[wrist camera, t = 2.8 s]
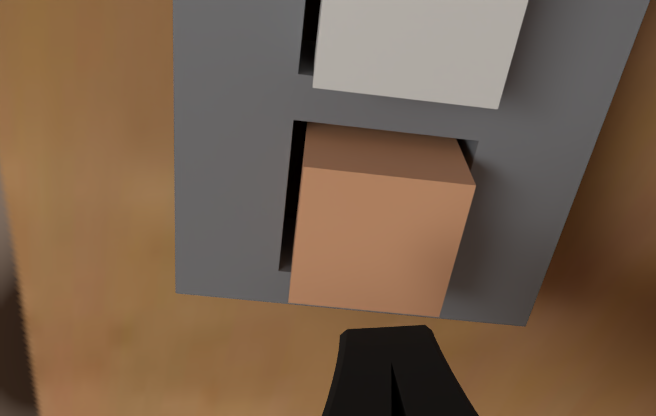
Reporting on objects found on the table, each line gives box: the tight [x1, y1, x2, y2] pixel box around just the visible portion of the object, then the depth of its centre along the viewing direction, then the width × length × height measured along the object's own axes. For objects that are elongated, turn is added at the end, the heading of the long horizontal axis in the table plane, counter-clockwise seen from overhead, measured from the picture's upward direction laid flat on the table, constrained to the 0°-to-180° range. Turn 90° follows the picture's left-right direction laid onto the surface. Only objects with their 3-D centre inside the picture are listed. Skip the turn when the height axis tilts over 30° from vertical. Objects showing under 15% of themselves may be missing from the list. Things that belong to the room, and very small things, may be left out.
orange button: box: [288, 121, 476, 317], centre depth 14 cm, size 3×3×2 cm
